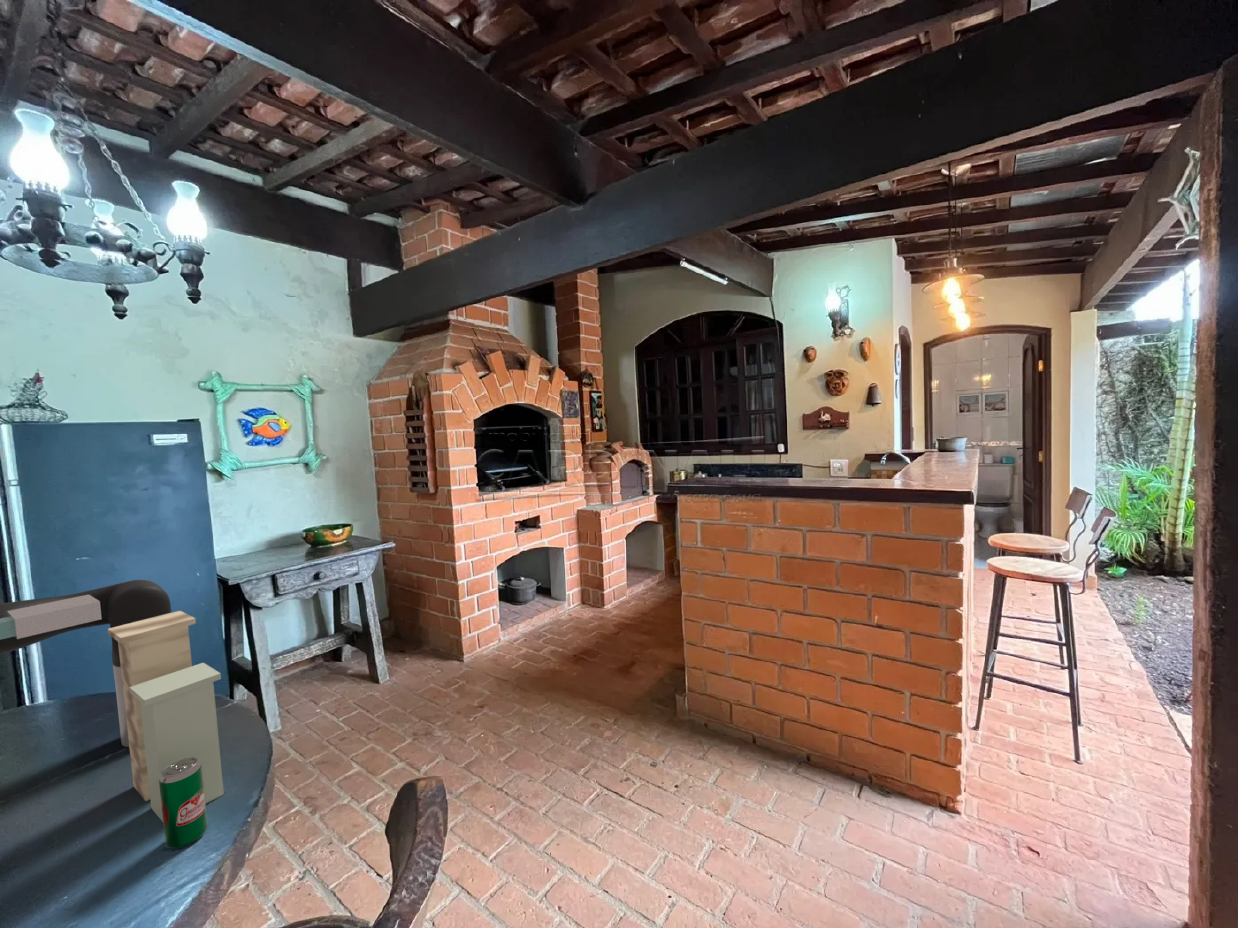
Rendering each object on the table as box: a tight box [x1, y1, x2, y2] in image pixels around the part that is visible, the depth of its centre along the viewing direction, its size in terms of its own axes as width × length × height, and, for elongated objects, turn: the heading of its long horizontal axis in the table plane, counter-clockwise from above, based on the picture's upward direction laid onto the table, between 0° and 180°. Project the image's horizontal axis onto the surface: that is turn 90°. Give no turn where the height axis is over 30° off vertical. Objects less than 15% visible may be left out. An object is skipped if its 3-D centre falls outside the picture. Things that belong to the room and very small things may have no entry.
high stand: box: [107, 610, 197, 802], centre depth 92 cm, size 8×10×30 cm
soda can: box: [159, 757, 208, 850], centre depth 79 cm, size 5×5×12 cm
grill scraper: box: [0, 595, 102, 640], centre depth 77 cm, size 7×18×3 cm, turn 147°
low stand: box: [129, 662, 225, 823], centre depth 87 cm, size 8×10×22 cm
